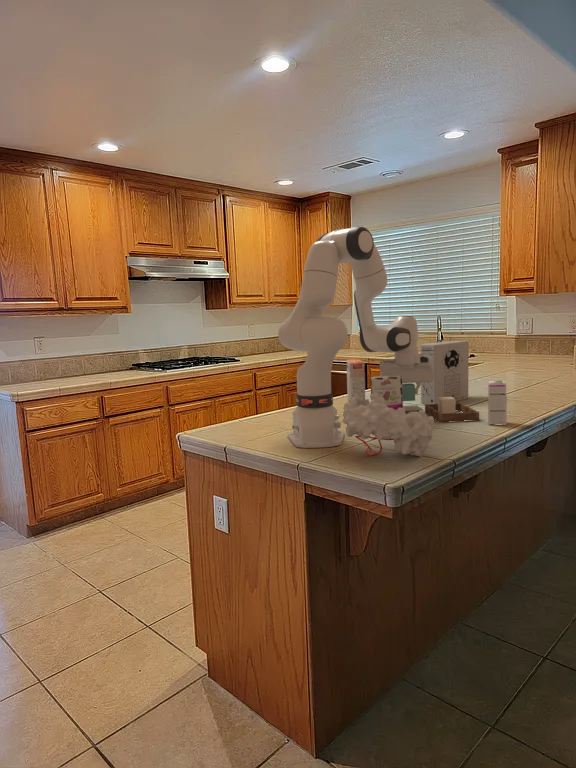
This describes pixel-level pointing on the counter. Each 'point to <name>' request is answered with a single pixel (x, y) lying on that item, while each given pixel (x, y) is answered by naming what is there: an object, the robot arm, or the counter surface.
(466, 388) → the cereal box
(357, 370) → the cracker box
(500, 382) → the syrup box
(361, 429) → the lumpy white molecule
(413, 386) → the teal block
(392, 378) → the candy bar box
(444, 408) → the cream block
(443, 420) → the crate
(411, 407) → the trivet
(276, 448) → the counter surface
